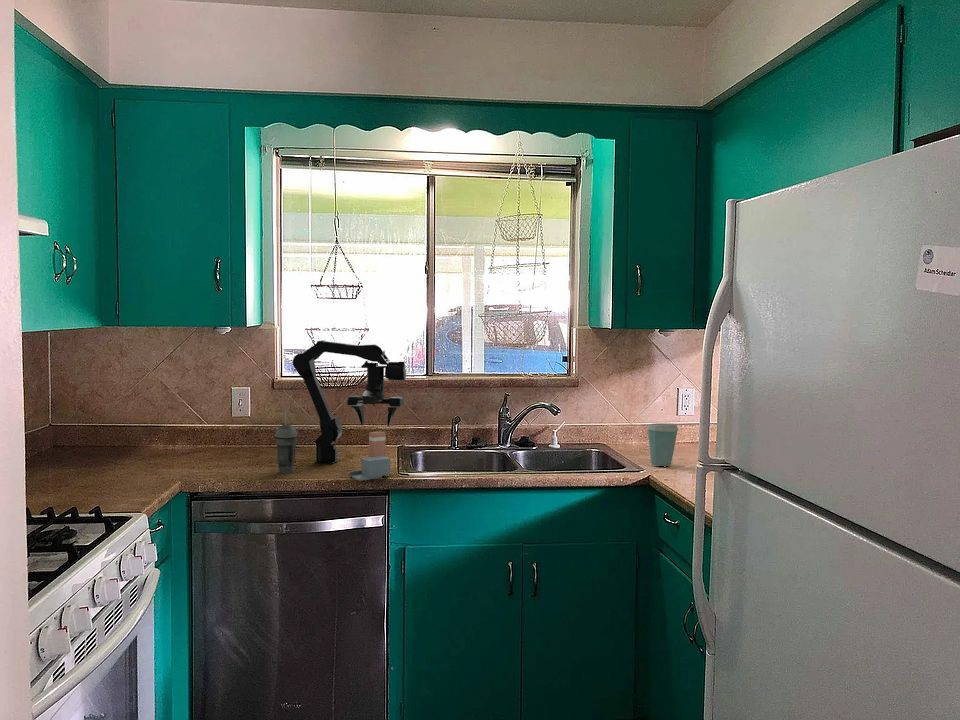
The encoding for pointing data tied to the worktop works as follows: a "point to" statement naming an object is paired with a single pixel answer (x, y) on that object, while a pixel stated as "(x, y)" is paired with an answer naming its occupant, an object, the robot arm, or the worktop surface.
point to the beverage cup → (286, 447)
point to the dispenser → (372, 468)
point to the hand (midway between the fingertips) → (375, 425)
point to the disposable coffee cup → (662, 443)
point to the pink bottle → (377, 443)
